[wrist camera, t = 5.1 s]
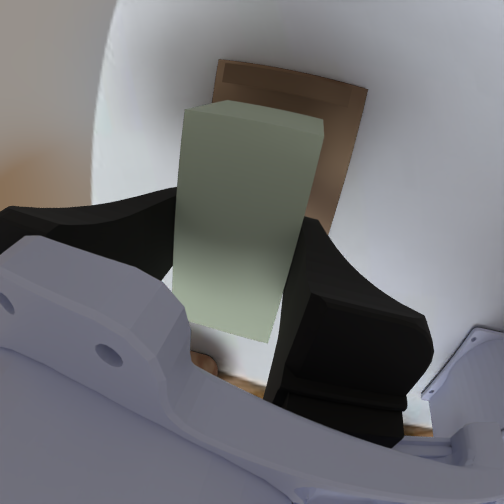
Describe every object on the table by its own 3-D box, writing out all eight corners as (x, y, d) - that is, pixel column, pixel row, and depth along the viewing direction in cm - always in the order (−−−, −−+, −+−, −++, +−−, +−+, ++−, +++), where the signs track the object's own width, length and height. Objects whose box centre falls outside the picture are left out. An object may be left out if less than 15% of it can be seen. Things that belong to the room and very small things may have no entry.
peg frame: (314, 273, 21) (312, 297, 19) (198, 243, 22) (183, 263, 19) (366, 89, 15) (374, 90, 12) (221, 59, 15) (206, 56, 13)
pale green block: (282, 279, 16) (267, 343, 12) (206, 259, 16) (171, 316, 13) (323, 119, 12) (324, 136, 8) (227, 100, 12) (184, 109, 8)
